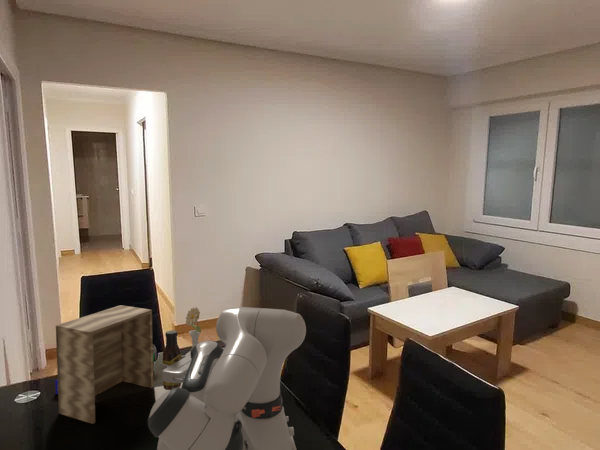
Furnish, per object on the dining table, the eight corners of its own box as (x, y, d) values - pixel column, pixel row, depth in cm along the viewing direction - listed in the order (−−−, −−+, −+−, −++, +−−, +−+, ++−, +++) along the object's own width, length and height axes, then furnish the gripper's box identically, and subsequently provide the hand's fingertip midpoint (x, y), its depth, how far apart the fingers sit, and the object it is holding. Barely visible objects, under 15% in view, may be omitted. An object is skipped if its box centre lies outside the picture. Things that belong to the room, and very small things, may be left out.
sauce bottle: (177, 391, 139) (176, 335, 138) (160, 391, 140) (158, 335, 138) (184, 382, 146) (182, 329, 145) (167, 382, 146) (166, 329, 145)
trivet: (192, 398, 140) (192, 396, 140) (155, 404, 135) (155, 403, 135) (188, 383, 151) (188, 381, 151) (154, 388, 146) (154, 387, 146)
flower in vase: (179, 360, 171) (178, 303, 169) (206, 356, 176) (205, 300, 174) (184, 373, 159) (183, 311, 157) (212, 368, 164) (212, 308, 162)
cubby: (153, 387, 148) (151, 309, 146) (92, 423, 124) (89, 332, 122) (122, 379, 154) (120, 305, 151) (58, 413, 130) (55, 325, 127)
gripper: (182, 391, 128) (148, 383, 133) (219, 365, 147) (188, 359, 152) (182, 371, 127) (148, 364, 133) (218, 349, 146) (187, 343, 152)
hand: (169, 361), depth 143 cm, fingers closed on sauce bottle, 6 cm apart
